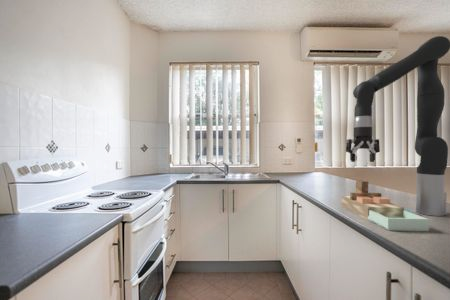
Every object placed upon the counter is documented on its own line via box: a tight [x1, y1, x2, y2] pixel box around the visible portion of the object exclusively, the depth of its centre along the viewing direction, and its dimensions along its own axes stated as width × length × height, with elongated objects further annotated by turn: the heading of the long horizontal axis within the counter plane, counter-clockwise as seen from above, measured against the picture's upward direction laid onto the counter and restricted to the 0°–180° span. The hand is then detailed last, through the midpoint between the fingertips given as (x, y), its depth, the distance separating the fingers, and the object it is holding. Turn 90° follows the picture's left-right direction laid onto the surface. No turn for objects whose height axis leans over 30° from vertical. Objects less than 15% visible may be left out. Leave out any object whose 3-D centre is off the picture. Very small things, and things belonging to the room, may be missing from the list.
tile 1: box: [357, 197, 373, 204], centre depth 104 cm, size 4×4×2 cm
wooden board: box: [341, 195, 405, 221], centre depth 106 cm, size 14×22×5 cm, turn 179°
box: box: [367, 210, 430, 232], centre depth 89 cm, size 14×12×4 cm
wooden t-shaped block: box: [349, 179, 382, 200], centre depth 112 cm, size 13×6×8 cm, turn 89°
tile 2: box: [373, 196, 391, 204], centre depth 104 cm, size 4×4×2 cm
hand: (362, 161), depth 112 cm, fingers open, 8 cm apart
